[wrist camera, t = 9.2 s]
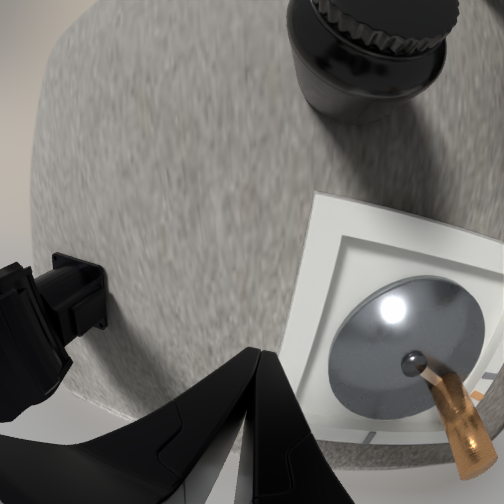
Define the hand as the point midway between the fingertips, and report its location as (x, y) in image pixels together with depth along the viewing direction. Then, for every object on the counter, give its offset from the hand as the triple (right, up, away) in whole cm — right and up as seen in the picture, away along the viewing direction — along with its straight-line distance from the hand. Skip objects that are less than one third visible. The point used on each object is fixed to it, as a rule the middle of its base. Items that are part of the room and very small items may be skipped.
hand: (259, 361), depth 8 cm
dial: (+12, -5, +11) cm, 17 cm away
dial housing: (+12, -4, +12) cm, 18 cm away
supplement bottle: (+6, +14, +8) cm, 18 cm away
